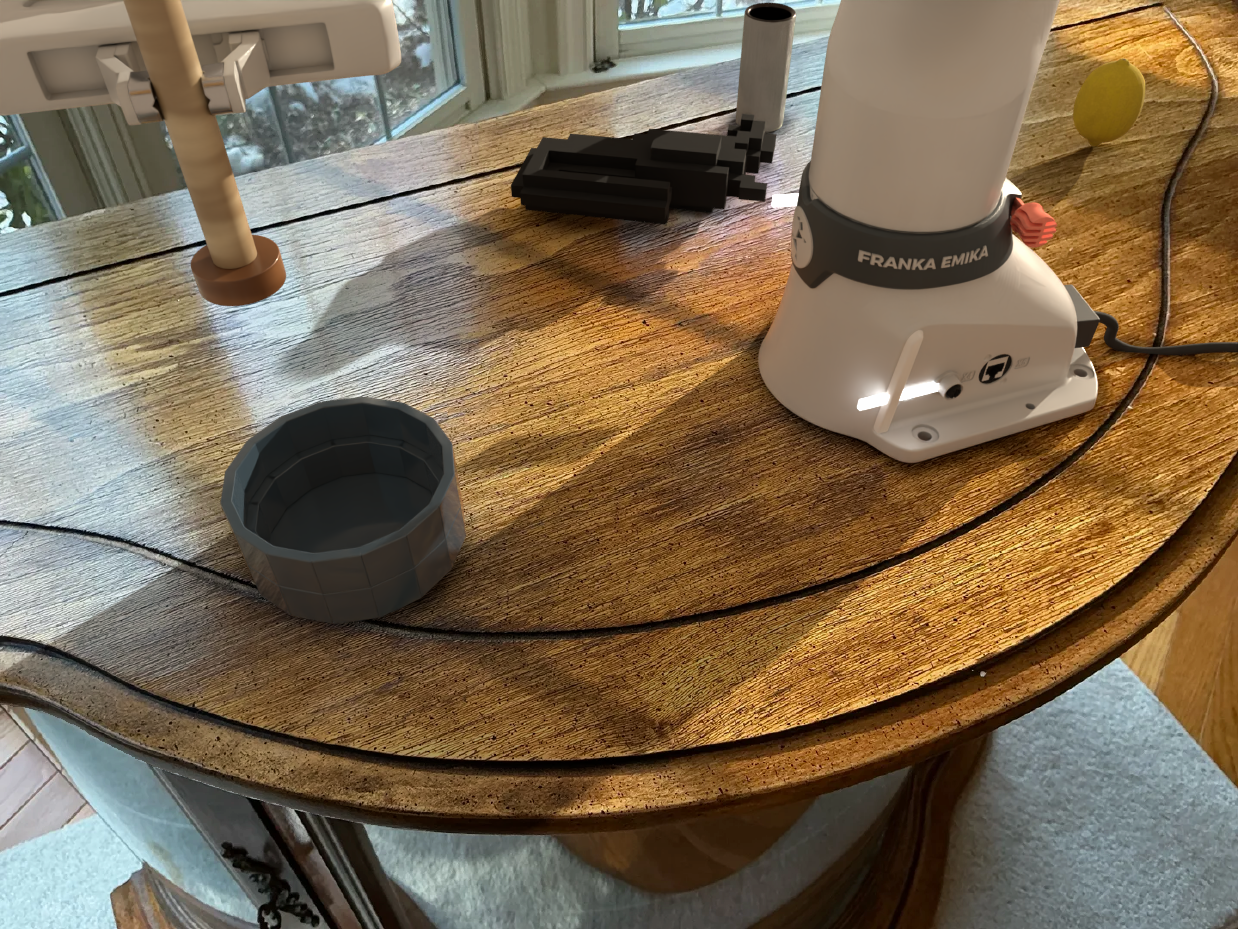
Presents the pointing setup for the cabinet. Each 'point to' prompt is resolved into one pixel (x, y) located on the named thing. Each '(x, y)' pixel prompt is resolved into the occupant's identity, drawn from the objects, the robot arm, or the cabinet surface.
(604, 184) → the tool
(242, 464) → the bowl
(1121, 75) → the lemon
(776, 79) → the light grey tube
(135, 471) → the cabinet surface
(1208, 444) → the cabinet surface
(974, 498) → the cabinet surface
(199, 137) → the stirring stick
